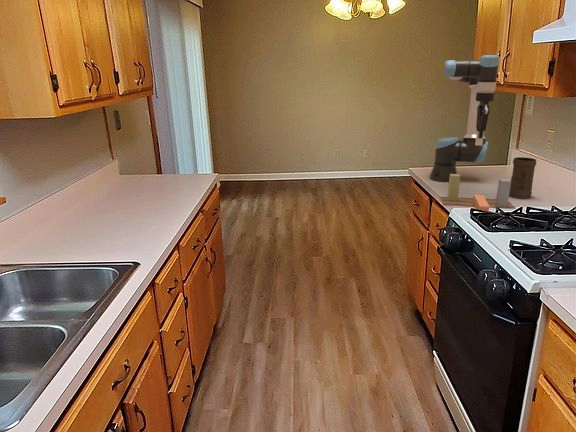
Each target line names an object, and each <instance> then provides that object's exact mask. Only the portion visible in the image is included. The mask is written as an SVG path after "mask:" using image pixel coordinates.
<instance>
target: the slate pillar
mask: <svg viewBox="0 0 576 432" xmlns="http://www.w3.org/2000/svg"><path fill="white" fill-rule="evenodd" d="M497 183H498V184H497V192H496V197H495V199H496V204H495V205H496V206H497V207H507V205H508V201H509V198H510V197H509V192H510V186H511V179H509V178H498V182H497Z"/></svg>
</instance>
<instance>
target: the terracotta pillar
mask: <svg viewBox="0 0 576 432" xmlns="http://www.w3.org/2000/svg"><path fill="white" fill-rule="evenodd" d="M473 198H474V199H473V204H474V206H475V207H474V208H475V209H476V210H477V209H478V210H482V211H488V213H489V211H490V208H489V205H488V203H487V201H486V199H487V198H485V195H484V194H474V195H473Z"/></svg>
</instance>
